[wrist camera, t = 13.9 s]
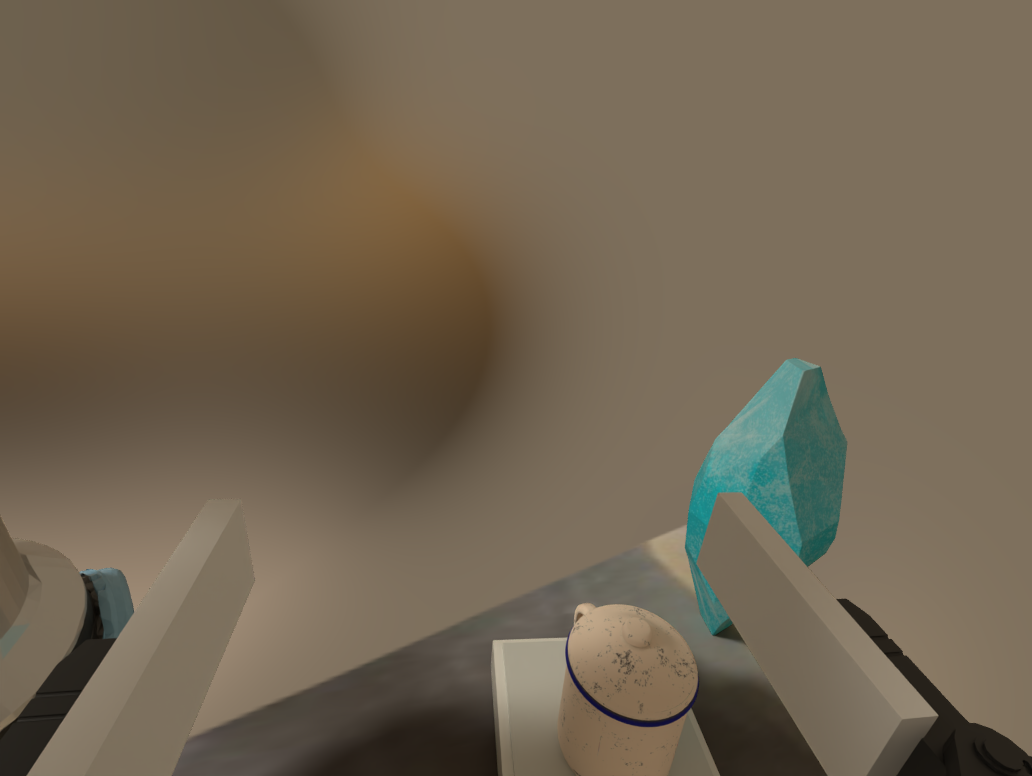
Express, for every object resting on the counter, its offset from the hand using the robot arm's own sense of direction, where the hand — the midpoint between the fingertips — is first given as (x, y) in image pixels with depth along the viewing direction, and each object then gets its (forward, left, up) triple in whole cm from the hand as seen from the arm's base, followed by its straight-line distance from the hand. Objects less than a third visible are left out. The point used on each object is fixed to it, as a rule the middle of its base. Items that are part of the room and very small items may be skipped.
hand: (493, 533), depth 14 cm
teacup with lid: (+11, +13, -30) cm, 35 cm away
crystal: (+28, +26, -34) cm, 51 cm away
